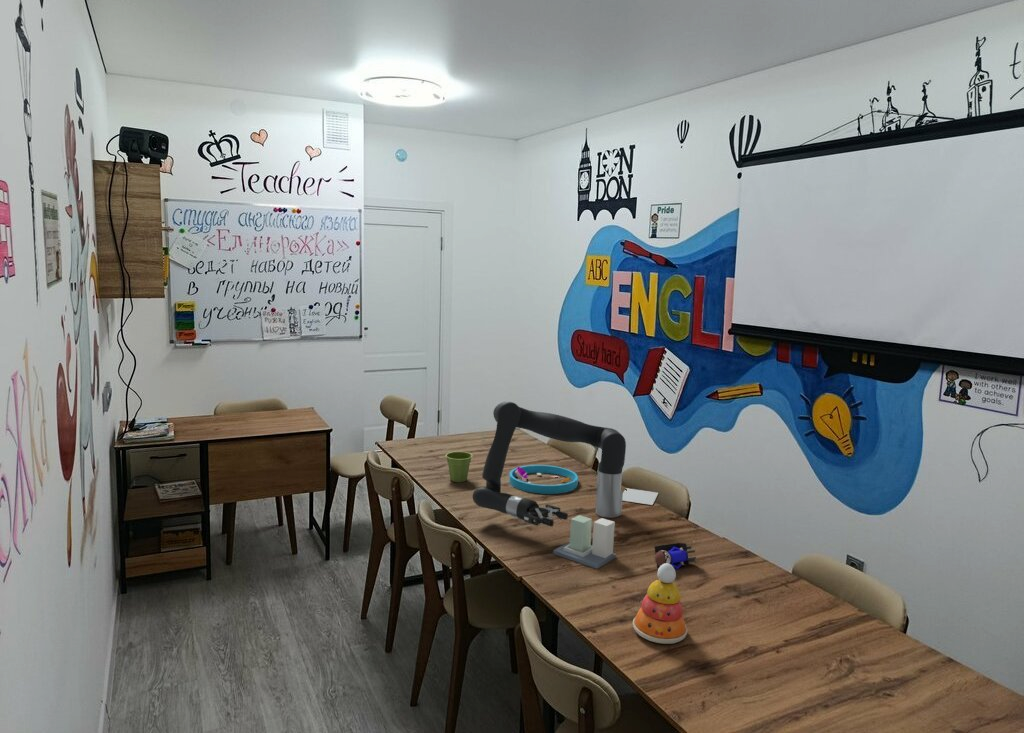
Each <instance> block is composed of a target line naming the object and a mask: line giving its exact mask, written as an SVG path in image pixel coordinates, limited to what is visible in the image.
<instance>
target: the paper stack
mask: <svg viewBox="0 0 1024 733" xmlns="http://www.w3.org/2000/svg"><path fill="white" fill-rule="evenodd" d="M625 489H627V491H626V490H625ZM625 489H624V491H623V499H622V502H630V503H636V504H643V505H650V506H653V504H654V503H655V501H656V500H657V497H658V495H659V492H655V491H650V490H643V489H636V488H628V487H626V488H625Z"/></svg>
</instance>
